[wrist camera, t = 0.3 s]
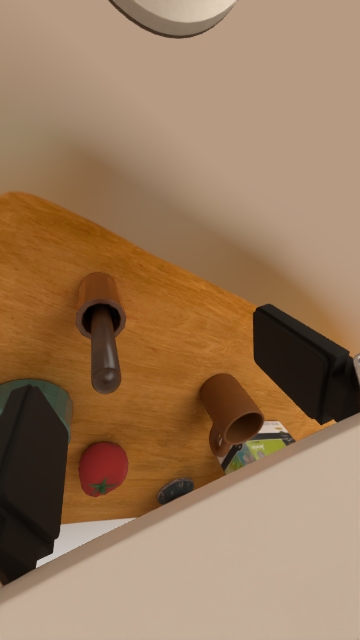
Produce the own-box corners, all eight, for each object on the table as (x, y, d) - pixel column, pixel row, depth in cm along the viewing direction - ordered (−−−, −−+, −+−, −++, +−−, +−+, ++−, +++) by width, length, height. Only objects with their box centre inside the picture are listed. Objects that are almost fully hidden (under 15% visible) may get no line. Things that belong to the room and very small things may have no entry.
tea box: (212, 451, 54) (248, 528, 41) (231, 418, 50) (277, 491, 38) (260, 448, 60) (304, 514, 48) (279, 419, 57) (332, 481, 44)
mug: (213, 421, 49) (237, 464, 41) (182, 418, 45) (201, 465, 37) (241, 375, 45) (273, 412, 37) (210, 368, 42) (238, 408, 34)
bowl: (-41, 425, 31) (-63, 464, 27) (8, 363, 30) (-7, 393, 25) (44, 445, 37) (38, 480, 33) (89, 395, 36) (88, 424, 31)
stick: (88, 291, 29) (84, 393, 14) (97, 280, 28) (104, 372, 13) (100, 300, 30) (110, 404, 15) (109, 289, 29) (128, 383, 14)
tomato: (88, 470, 43) (87, 515, 37) (70, 445, 39) (66, 490, 33) (130, 452, 45) (136, 492, 39) (117, 426, 41) (122, 466, 35)
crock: (72, 292, 29) (65, 326, 21) (94, 264, 28) (95, 289, 20) (103, 311, 31) (106, 348, 23) (124, 286, 30) (135, 315, 23)
